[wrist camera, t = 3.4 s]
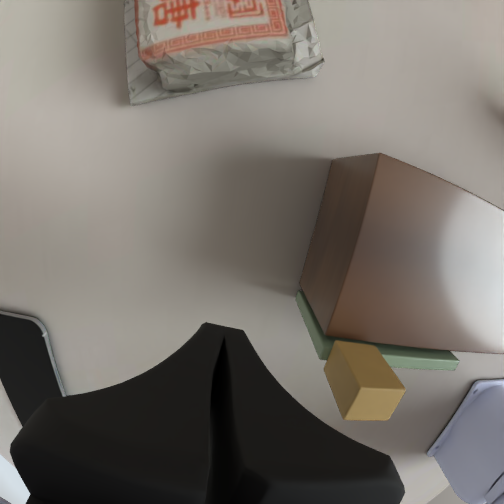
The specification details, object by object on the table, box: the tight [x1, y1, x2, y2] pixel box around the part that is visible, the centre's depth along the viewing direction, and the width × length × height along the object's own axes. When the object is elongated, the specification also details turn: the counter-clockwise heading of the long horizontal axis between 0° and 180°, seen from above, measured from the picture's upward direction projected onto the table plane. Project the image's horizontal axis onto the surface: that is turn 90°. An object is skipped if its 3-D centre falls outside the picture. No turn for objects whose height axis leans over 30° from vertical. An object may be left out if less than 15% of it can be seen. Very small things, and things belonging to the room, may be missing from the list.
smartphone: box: [0, 311, 66, 426], centre depth 19 cm, size 7×1×15 cm
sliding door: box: [296, 290, 459, 421], centre depth 13 cm, size 1×8×9 cm, turn 76°
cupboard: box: [299, 153, 504, 354], centre depth 14 cm, size 7×15×6 cm, turn 76°
